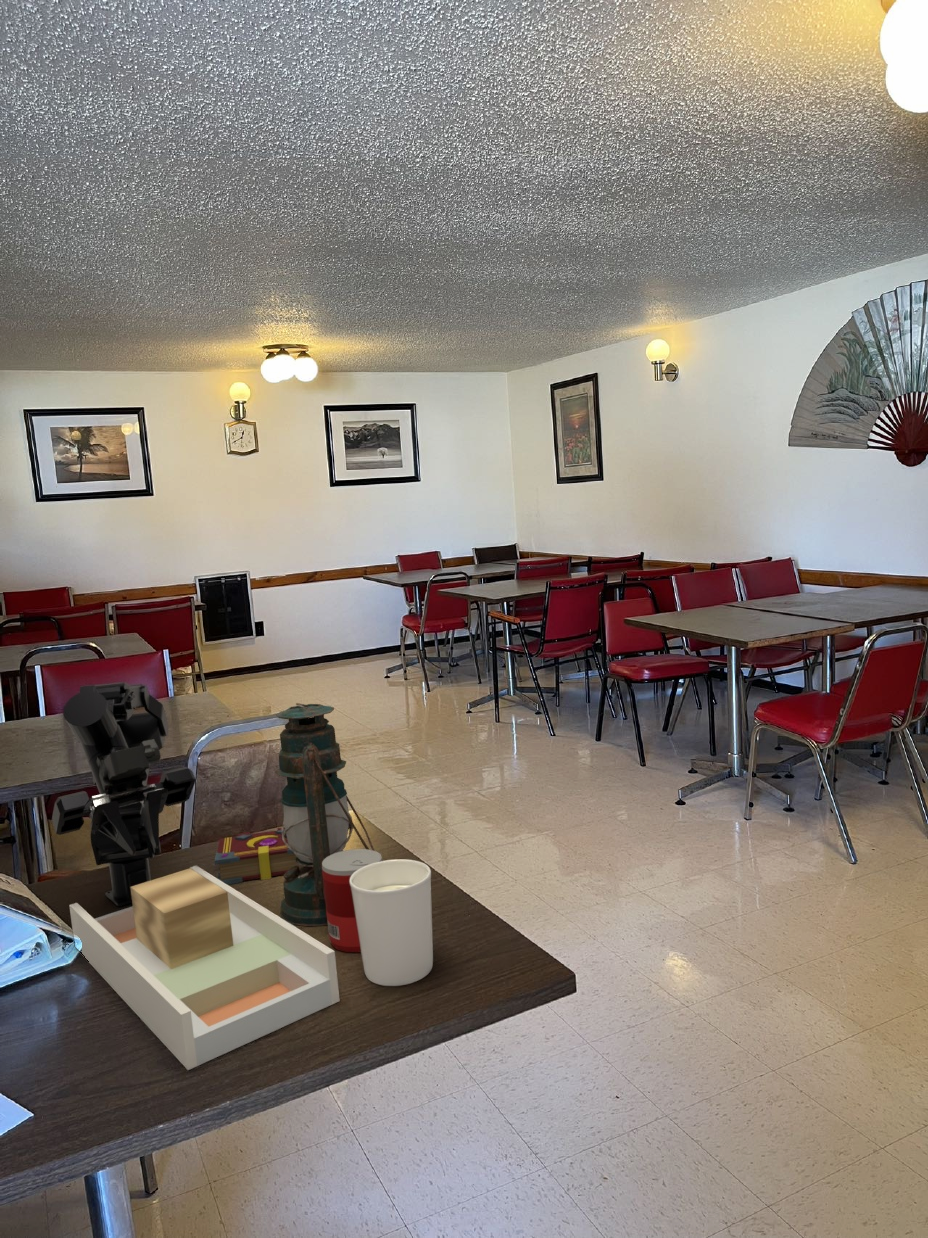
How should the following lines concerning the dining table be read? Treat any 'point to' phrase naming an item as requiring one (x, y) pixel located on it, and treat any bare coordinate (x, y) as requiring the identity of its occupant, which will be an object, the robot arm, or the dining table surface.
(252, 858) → the decorative book
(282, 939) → the tray
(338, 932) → the canned food
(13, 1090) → the dining table surface
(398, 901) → the candle holder
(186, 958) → the wooden block
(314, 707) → the lantern
